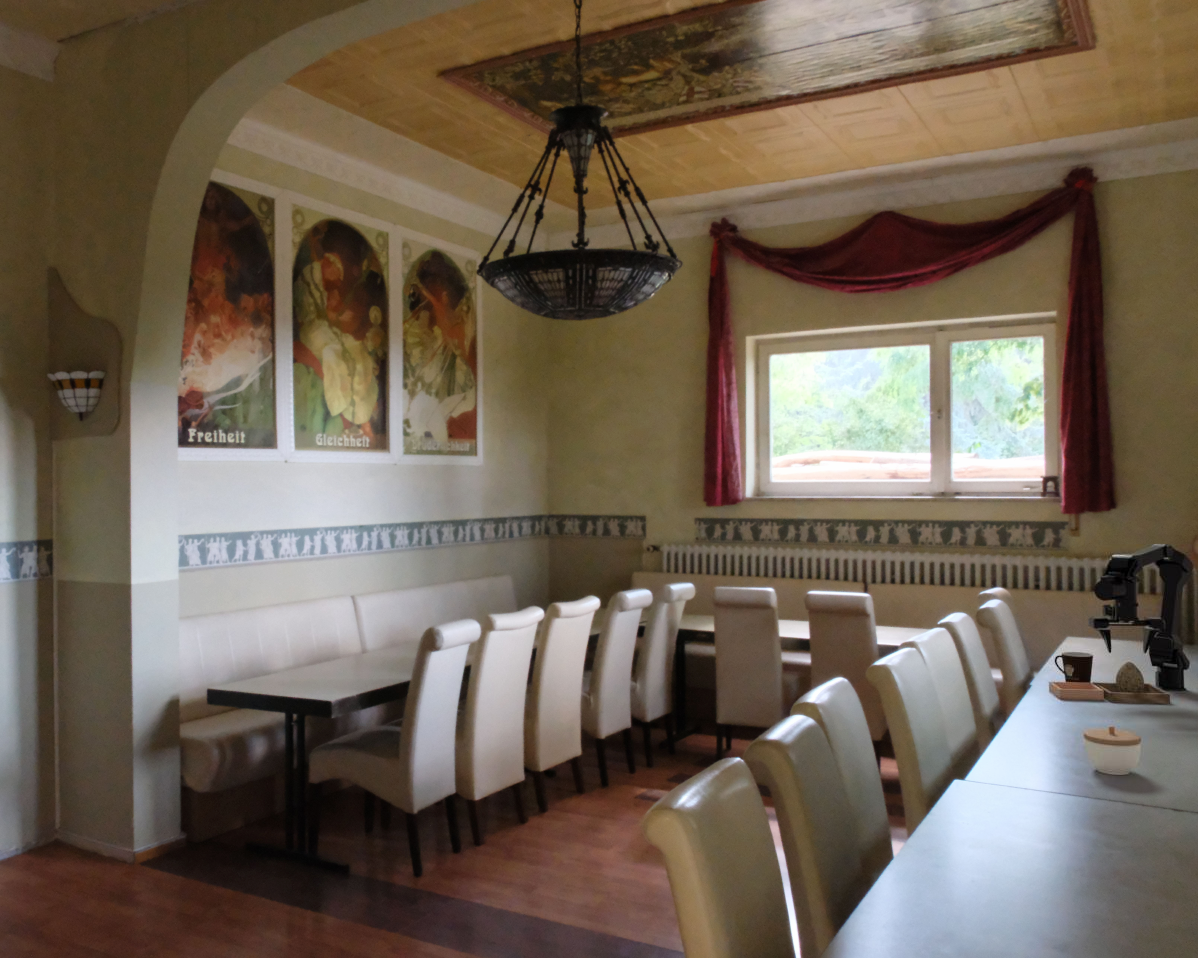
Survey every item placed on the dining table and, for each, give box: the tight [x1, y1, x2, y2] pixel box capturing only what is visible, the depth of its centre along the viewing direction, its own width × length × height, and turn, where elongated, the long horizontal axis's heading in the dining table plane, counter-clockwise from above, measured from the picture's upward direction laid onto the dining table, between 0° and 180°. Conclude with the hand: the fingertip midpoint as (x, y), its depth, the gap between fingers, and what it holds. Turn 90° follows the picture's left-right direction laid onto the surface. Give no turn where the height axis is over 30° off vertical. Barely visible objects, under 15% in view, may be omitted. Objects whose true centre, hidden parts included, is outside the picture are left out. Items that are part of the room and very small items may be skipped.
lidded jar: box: [1083, 725, 1142, 776], centre depth 205 cm, size 11×11×9 cm
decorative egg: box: [1115, 661, 1145, 693], centre depth 278 cm, size 7×7×10 cm
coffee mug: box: [1054, 651, 1094, 683], centre depth 294 cm, size 12×9×10 cm
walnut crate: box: [1091, 681, 1171, 704], centre depth 278 cm, size 16×16×2 cm
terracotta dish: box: [1048, 681, 1105, 701], centre depth 281 cm, size 12×12×3 cm
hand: (1127, 652), depth 279 cm, fingers open, 9 cm apart
